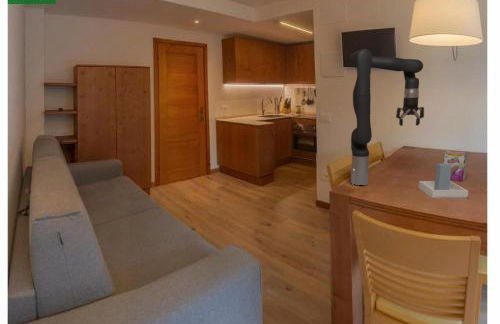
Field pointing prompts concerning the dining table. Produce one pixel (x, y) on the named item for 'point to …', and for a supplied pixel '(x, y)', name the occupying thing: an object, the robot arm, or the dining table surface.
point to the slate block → (442, 177)
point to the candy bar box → (456, 164)
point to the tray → (452, 193)
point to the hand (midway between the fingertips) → (409, 125)
